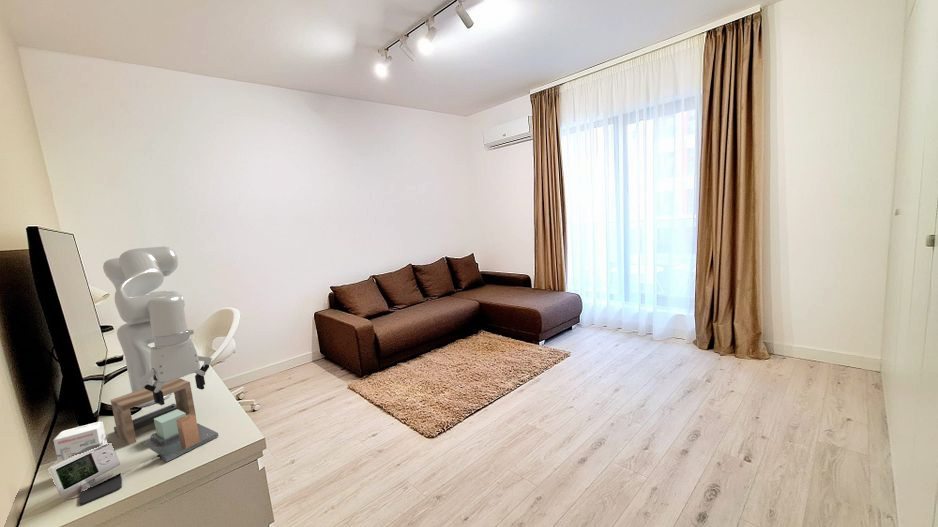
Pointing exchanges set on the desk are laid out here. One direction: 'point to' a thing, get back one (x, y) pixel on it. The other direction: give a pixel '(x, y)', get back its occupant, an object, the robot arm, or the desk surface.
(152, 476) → the desk surface
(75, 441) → the ink box
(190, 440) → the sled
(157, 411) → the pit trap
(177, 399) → the tunnel
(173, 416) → the sage block
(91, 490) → the phone
